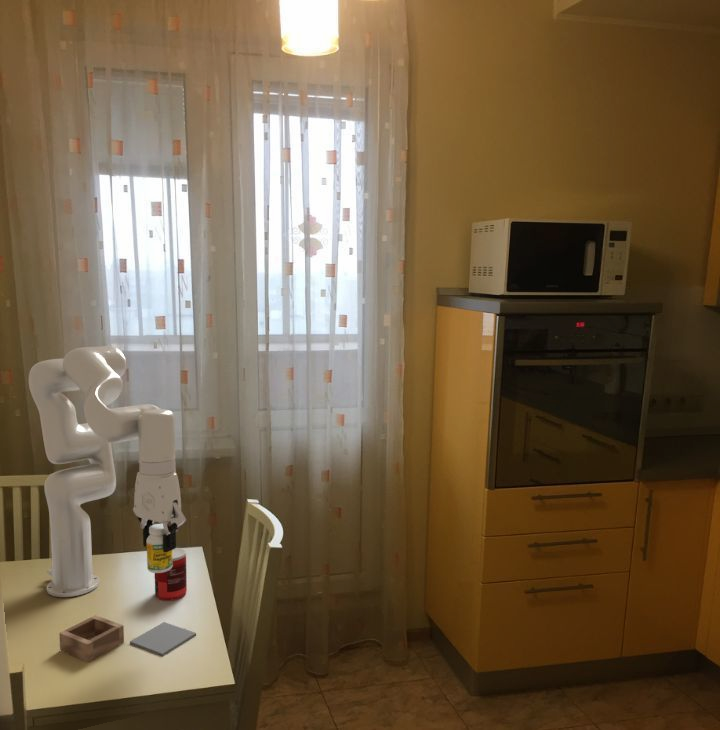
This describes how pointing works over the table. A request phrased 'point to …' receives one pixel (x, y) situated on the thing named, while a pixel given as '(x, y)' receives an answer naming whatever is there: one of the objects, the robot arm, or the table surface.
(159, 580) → the canned food
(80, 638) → the sleeve holder
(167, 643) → the rubber mat
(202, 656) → the table surface
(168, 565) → the supplement bottle
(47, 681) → the table surface
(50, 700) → the table surface
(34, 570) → the table surface
